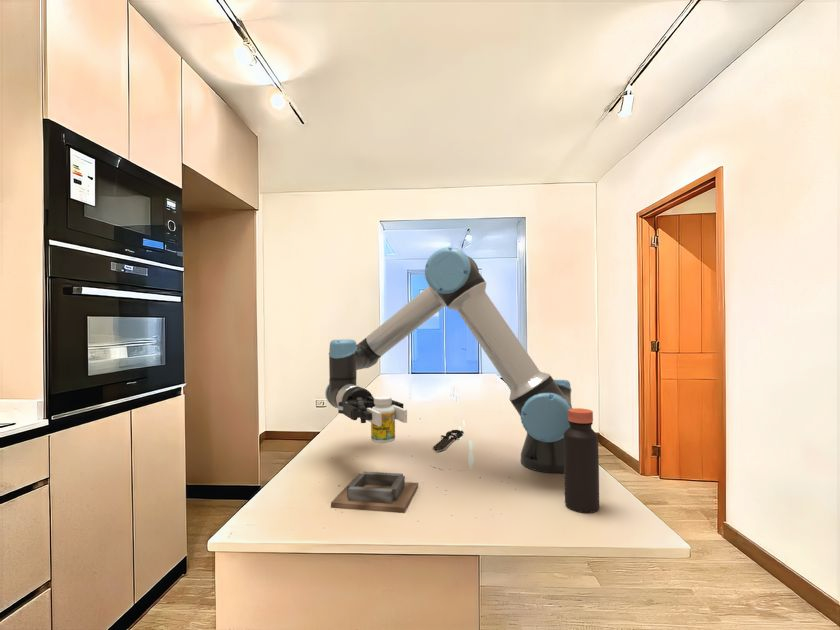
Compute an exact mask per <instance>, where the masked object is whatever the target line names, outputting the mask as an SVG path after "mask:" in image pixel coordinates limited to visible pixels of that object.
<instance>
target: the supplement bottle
mask: <svg viewBox="0 0 840 630" xmlns="http://www.w3.org/2000/svg"><path fill="white" fill-rule="evenodd" d="M373 398H374V404H375V406H374V407H373V408H372V409H374V410H376V411H378V412H380V413H381V424H382V426H377V425H375V424H373V423H371V422H370V428H371V429H370V430H371V431H370V433H371V436H370V438H371V441H372V442H373V443H376V444H387V443H388V444H389V443H393V442H394V441H395V440H396V419H395V409H394V407H393V406H391V404H392V399H393V398H392V397H391V396H387V395H385V396H383V395H381V396H375V397H373Z"/></svg>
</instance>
